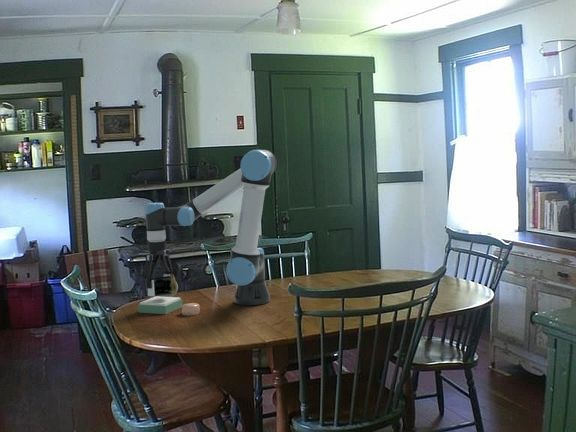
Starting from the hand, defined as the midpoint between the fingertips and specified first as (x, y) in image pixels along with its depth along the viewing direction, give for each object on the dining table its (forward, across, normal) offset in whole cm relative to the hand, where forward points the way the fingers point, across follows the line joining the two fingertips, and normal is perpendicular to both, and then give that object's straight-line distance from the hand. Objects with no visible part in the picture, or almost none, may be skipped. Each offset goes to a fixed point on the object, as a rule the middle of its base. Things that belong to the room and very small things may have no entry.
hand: (159, 292), depth 286 cm
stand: (+7, 0, 0) cm, 7 cm away
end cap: (0, 0, 0) cm, 0 cm away
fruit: (+7, -21, -10) cm, 24 cm away
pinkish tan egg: (+7, +3, +16) cm, 18 cm away
